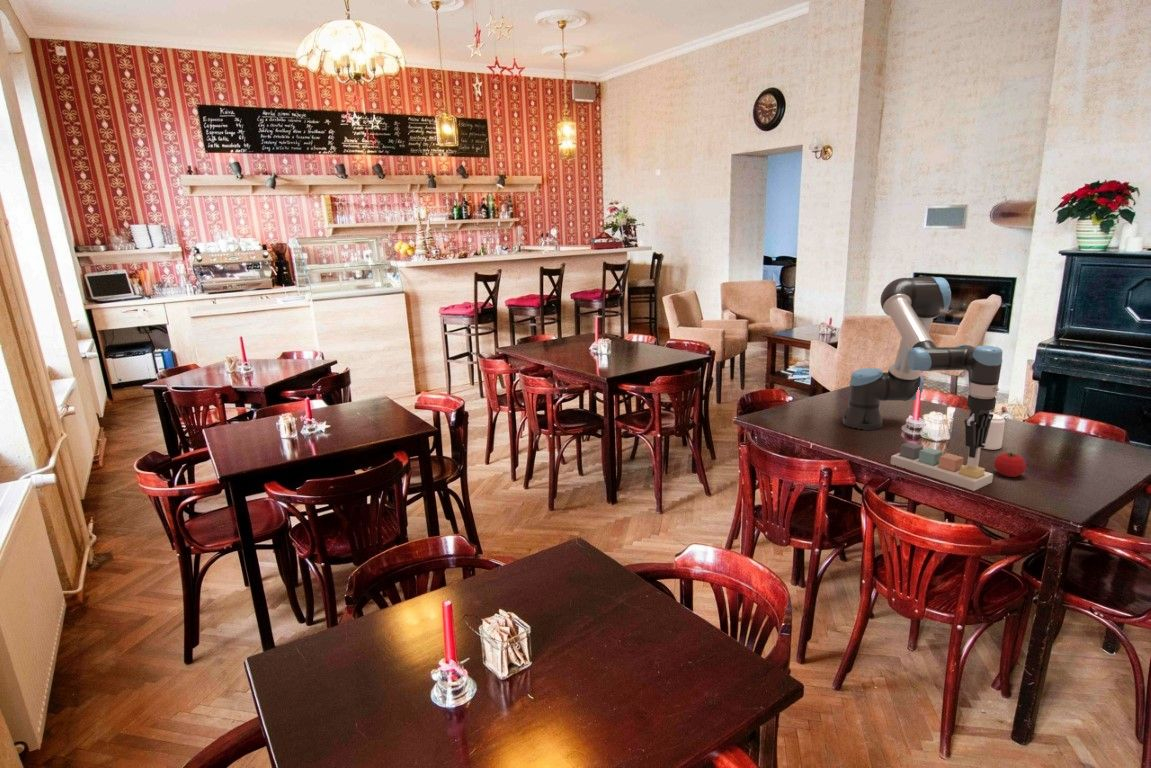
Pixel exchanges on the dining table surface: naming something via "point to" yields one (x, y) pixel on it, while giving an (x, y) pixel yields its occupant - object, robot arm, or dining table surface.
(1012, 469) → the tomato
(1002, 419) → the beverage can
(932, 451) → the key
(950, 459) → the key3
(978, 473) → the key
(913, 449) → the key
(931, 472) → the keypad
